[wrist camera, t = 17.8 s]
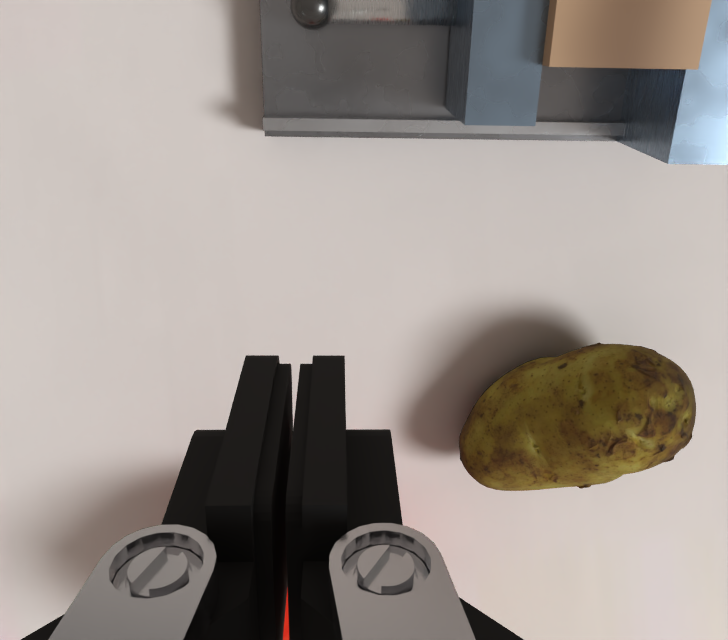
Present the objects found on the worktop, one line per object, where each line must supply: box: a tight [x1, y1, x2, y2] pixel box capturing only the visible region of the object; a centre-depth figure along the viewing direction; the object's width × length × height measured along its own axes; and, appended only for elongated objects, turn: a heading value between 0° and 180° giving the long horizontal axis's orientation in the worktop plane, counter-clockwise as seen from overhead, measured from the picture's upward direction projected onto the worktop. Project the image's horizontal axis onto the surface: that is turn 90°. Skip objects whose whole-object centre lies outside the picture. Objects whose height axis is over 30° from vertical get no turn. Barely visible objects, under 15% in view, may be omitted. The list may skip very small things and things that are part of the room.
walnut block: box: [542, 0, 712, 70], centre depth 30 cm, size 6×4×7 cm, turn 89°
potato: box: [459, 343, 696, 491], centre depth 39 cm, size 8×13×8 cm, turn 104°
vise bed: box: [260, 0, 728, 165], centre depth 31 cm, size 21×12×8 cm, turn 89°
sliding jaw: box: [290, 0, 550, 126], centre depth 30 cm, size 10×9×6 cm
